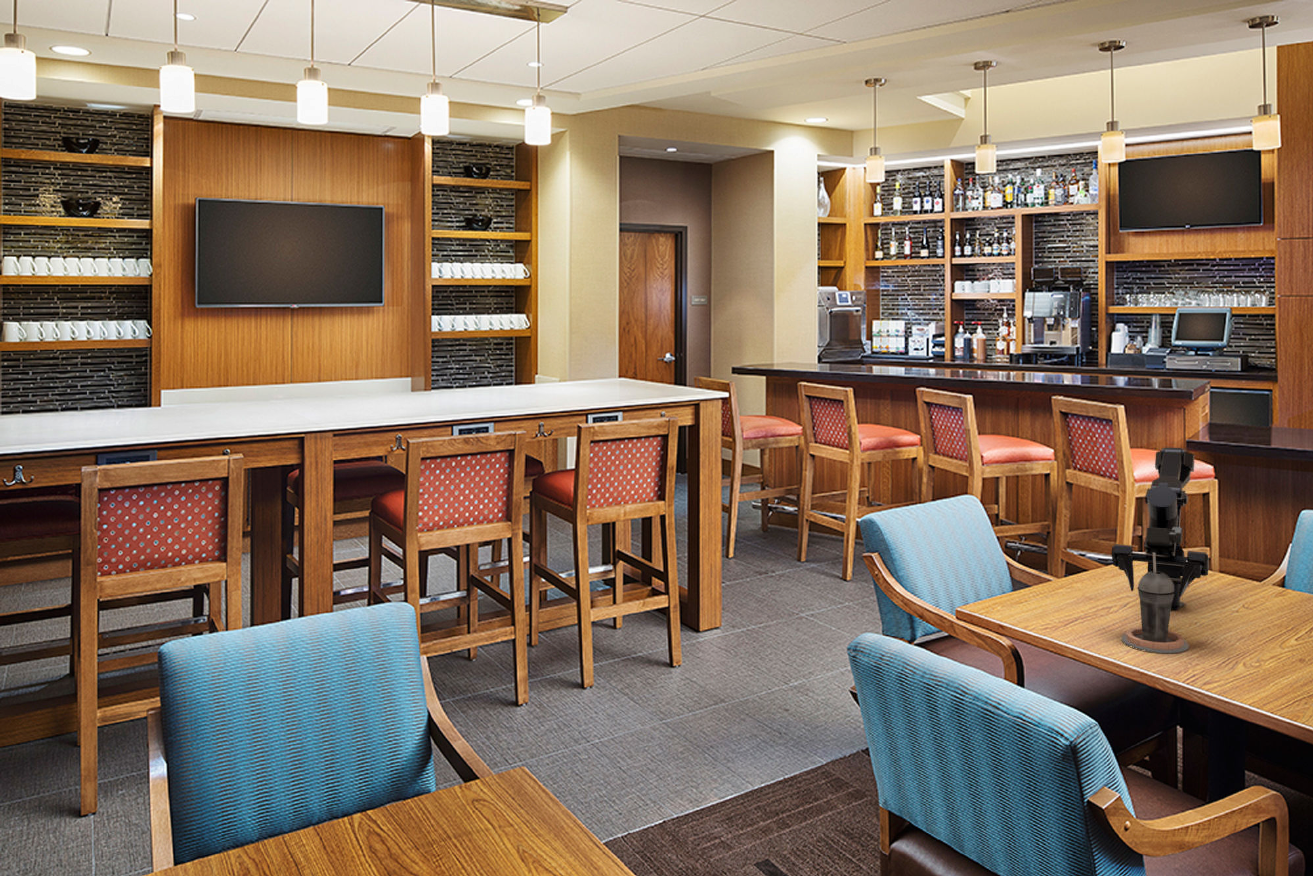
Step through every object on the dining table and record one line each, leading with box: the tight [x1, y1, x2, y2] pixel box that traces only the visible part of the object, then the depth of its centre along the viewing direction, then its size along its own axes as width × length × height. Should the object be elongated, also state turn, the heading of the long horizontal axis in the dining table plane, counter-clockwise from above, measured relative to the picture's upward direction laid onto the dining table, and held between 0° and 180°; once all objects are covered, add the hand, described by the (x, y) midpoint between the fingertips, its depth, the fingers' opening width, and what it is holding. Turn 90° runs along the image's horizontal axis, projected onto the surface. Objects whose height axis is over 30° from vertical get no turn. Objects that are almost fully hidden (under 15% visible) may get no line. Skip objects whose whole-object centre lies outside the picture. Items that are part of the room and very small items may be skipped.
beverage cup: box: [1136, 553, 1175, 643], centre depth 205 cm, size 7×7×20 cm
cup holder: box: [1120, 626, 1189, 655], centre depth 207 cm, size 13×13×2 cm
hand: (1155, 593), depth 205 cm, fingers open, 9 cm apart
